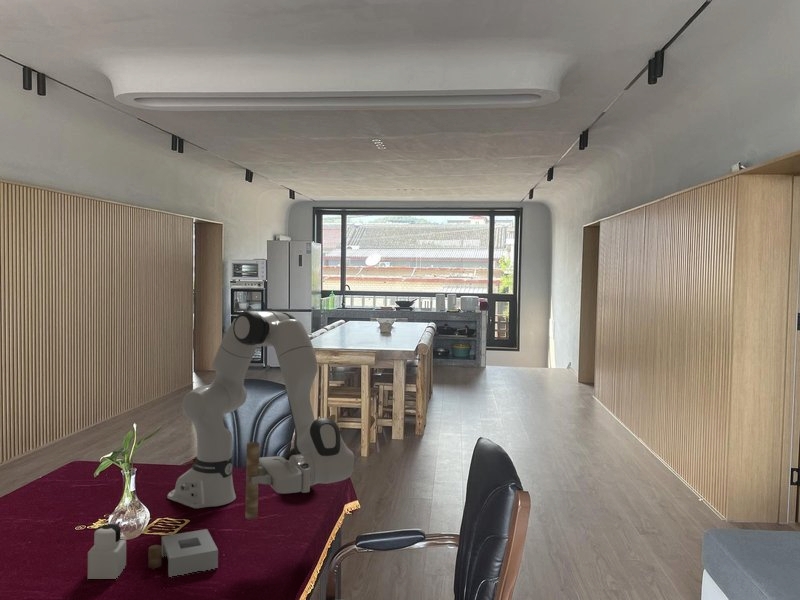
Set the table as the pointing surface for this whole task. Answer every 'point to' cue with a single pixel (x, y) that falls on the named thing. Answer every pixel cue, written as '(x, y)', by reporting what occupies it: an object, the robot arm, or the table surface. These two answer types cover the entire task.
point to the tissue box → (189, 552)
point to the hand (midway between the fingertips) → (249, 477)
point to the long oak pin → (251, 489)
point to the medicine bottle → (106, 553)
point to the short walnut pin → (155, 556)
